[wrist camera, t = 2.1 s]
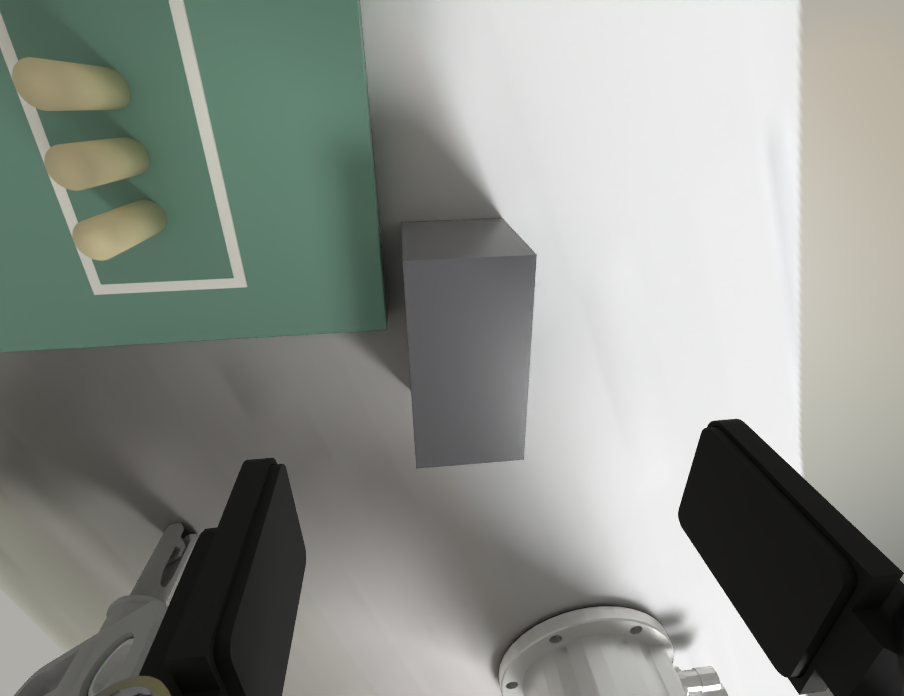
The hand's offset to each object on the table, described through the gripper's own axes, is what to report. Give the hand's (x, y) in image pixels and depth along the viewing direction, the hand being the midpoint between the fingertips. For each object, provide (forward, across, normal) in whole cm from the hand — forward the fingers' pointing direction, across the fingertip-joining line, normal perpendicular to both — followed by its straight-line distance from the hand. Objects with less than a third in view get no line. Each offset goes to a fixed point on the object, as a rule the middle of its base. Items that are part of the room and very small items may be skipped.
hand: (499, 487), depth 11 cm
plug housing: (+12, 0, +1) cm, 12 cm away
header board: (+12, +11, -6) cm, 17 cm away
